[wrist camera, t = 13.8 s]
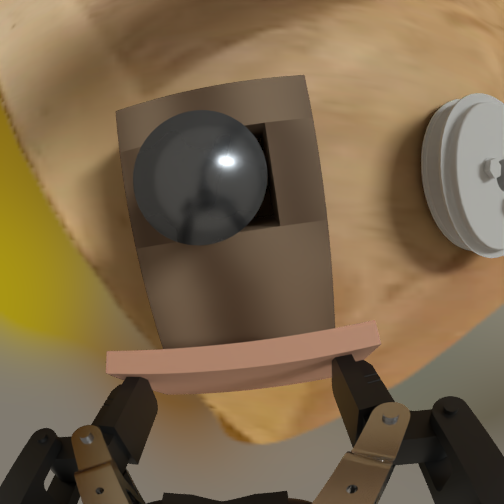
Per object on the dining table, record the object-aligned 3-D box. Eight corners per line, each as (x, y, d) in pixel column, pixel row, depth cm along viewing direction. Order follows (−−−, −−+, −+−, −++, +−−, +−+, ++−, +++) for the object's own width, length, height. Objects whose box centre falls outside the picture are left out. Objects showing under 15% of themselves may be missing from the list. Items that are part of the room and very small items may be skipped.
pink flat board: (375, 319, 10) (381, 343, 10) (343, 358, 16) (346, 374, 16) (106, 351, 11) (105, 373, 10) (166, 379, 17) (166, 394, 16)
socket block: (292, 100, 18) (304, 75, 13) (319, 323, 21) (335, 360, 16) (146, 126, 18) (115, 111, 13) (188, 340, 21) (173, 379, 17)
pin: (254, 146, 18) (256, 99, 8) (263, 206, 19) (276, 234, 8) (194, 156, 18) (125, 127, 8) (203, 215, 19) (145, 254, 9)
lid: (471, 275, 21) (506, 294, 16) (385, 177, 19) (421, 177, 14) (524, 175, 18) (558, 178, 13) (453, 74, 17) (488, 58, 12)
